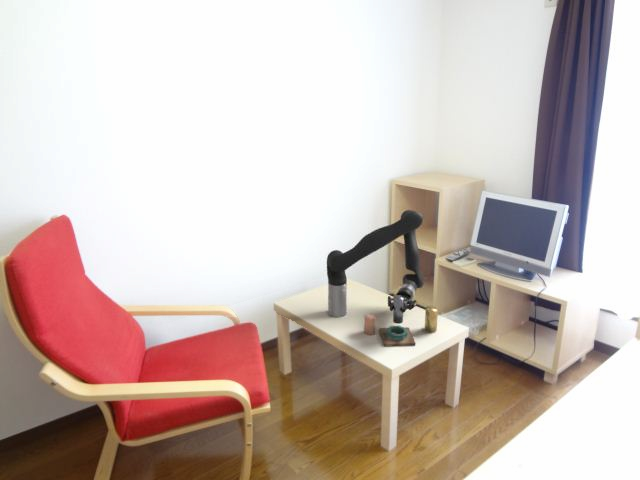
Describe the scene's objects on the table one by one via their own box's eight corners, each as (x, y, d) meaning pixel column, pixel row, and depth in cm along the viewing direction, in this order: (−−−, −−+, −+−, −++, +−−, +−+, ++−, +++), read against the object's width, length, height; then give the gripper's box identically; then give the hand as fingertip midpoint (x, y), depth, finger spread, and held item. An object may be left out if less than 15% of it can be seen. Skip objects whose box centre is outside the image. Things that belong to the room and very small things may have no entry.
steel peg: (394, 323, 202) (394, 299, 198) (392, 319, 206) (392, 295, 202) (403, 323, 202) (404, 299, 198) (401, 318, 206) (402, 294, 202)
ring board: (384, 346, 199) (384, 338, 198) (379, 330, 213) (379, 323, 212) (415, 345, 200) (415, 338, 199) (408, 329, 213) (408, 322, 212)
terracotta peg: (364, 335, 209) (365, 319, 206) (363, 329, 214) (363, 314, 211) (375, 334, 209) (375, 319, 206) (373, 329, 214) (374, 314, 211)
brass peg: (426, 332, 210) (427, 311, 207) (423, 327, 215) (424, 306, 212) (437, 332, 210) (439, 311, 207) (434, 326, 215) (436, 305, 212)
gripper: (391, 285, 215) (381, 300, 201) (421, 289, 210) (413, 305, 195) (390, 299, 218) (381, 315, 203) (420, 303, 212) (412, 320, 198)
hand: (396, 310), depth 199 cm, fingers closed on steel peg, 4 cm apart
